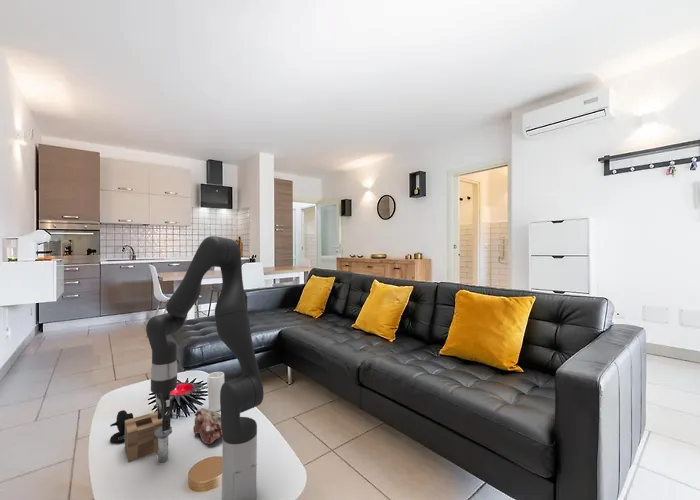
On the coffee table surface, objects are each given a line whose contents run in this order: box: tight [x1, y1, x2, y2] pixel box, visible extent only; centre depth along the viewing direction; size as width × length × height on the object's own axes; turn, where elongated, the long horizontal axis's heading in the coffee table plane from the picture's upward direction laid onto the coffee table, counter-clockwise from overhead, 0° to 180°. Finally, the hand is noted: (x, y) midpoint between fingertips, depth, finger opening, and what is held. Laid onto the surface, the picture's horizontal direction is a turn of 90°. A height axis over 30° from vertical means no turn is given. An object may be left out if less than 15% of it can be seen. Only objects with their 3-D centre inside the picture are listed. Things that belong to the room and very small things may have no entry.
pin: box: [154, 425, 173, 465], centre depth 107 cm, size 5×5×10 cm
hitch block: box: [124, 411, 162, 463], centre depth 113 cm, size 10×10×10 cm
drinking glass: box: [206, 371, 225, 413], centre depth 141 cm, size 7×7×15 cm
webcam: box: [109, 410, 134, 445], centre depth 119 cm, size 8×8×10 cm
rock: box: [193, 407, 223, 445], centre depth 122 cm, size 16×11×15 cm
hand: (163, 423), depth 107 cm, fingers open, 8 cm apart
